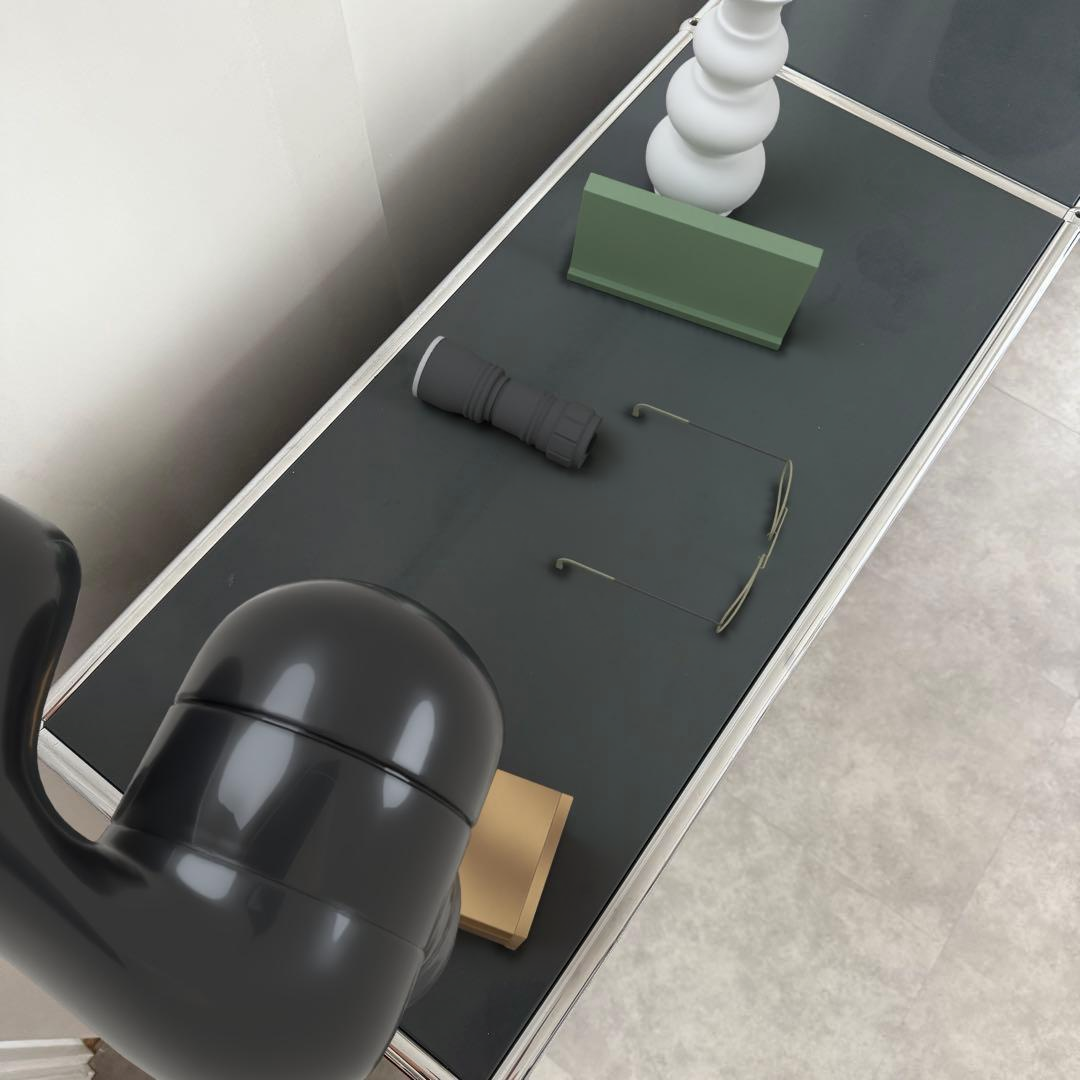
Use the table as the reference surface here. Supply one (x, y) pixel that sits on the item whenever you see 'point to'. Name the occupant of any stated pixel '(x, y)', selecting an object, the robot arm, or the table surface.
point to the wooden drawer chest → (510, 858)
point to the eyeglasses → (635, 413)
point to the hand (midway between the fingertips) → (376, 941)
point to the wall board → (690, 261)
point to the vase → (721, 108)
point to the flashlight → (505, 402)
